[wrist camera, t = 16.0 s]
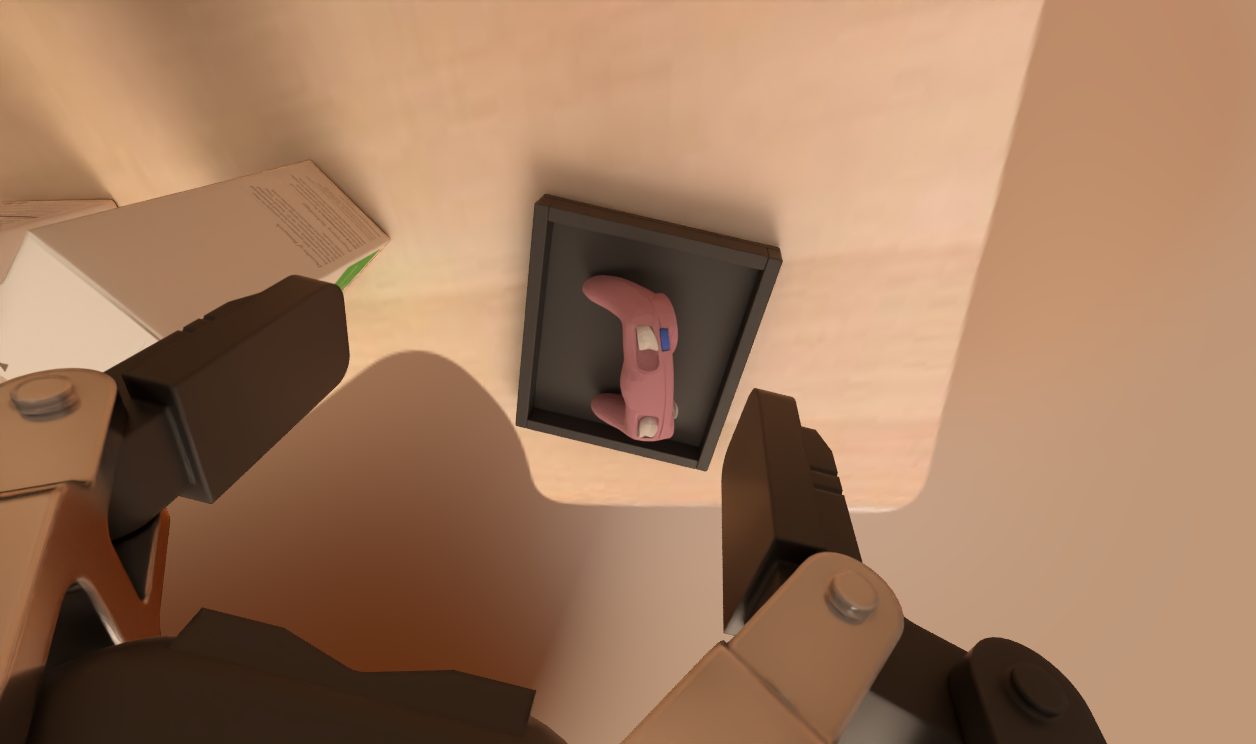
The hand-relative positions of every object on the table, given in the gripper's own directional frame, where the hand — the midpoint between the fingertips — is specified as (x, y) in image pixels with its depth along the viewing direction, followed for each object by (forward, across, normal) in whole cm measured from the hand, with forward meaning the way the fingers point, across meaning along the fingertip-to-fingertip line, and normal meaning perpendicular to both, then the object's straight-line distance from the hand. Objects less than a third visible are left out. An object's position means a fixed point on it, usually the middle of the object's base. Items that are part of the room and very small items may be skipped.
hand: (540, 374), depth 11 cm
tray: (+22, -2, +11) cm, 24 cm away
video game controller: (+21, -2, +11) cm, 24 cm away
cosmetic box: (+22, +20, +10) cm, 31 cm away
